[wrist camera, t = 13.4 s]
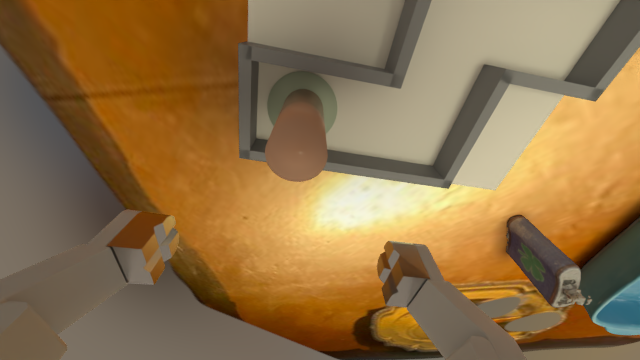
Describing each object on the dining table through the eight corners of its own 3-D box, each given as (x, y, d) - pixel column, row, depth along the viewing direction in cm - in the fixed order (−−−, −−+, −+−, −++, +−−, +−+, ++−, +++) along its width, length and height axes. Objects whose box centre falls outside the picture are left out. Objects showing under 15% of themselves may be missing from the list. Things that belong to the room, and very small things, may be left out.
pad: (344, 78, 22) (344, 79, 22) (329, 145, 26) (329, 146, 26) (269, 64, 21) (269, 65, 21) (265, 135, 25) (265, 136, 25)
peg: (326, 92, 22) (333, 131, 14) (319, 131, 25) (321, 185, 16) (285, 85, 22) (266, 120, 14) (281, 125, 24) (263, 177, 16)
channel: (655, -54, 18) (736, -74, 15) (489, 184, 31) (511, 205, 27) (254, -175, 15) (235, -237, 11) (249, 148, 27) (239, 166, 24)
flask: (506, 217, 34) (575, 285, 25) (528, 211, 33) (607, 279, 24) (504, 255, 39) (562, 324, 30) (524, 250, 38) (588, 319, 29)
